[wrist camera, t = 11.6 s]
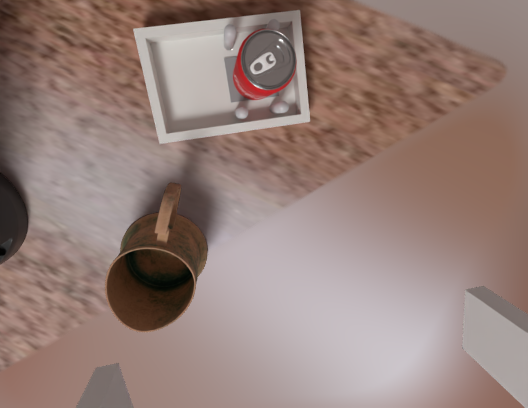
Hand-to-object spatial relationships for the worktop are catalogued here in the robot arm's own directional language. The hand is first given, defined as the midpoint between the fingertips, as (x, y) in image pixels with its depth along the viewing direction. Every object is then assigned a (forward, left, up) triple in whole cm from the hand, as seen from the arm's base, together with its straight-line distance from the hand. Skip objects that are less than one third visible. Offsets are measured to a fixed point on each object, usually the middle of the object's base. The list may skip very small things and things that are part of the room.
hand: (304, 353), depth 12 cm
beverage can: (+3, +13, -31) cm, 33 cm away
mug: (-11, -5, -32) cm, 34 cm away
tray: (0, +13, -32) cm, 34 cm away
